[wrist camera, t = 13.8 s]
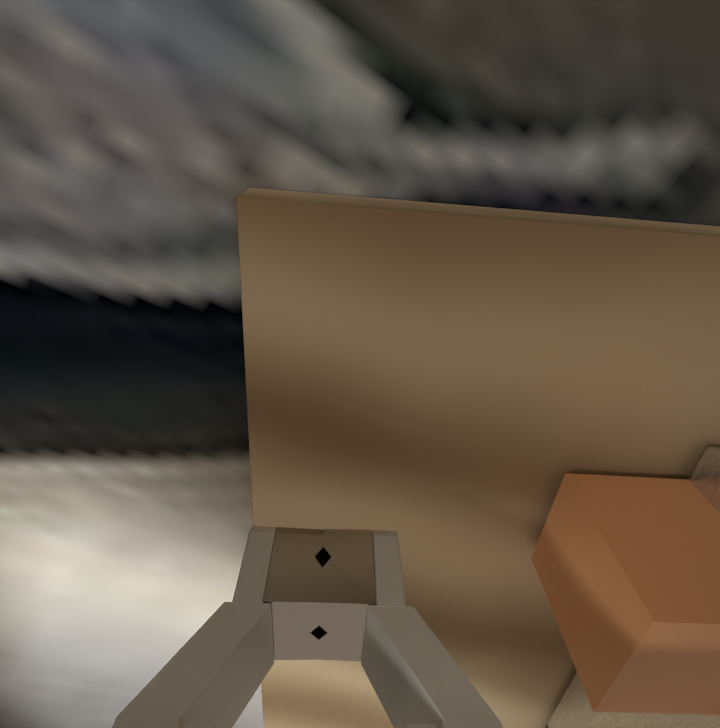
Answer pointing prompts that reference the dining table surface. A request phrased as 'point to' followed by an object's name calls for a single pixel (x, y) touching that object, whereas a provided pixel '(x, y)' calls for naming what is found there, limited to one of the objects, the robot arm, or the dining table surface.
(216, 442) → the dining table surface
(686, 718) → the tongs arm
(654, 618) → the orange block
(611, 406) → the maple board
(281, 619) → the robot arm
